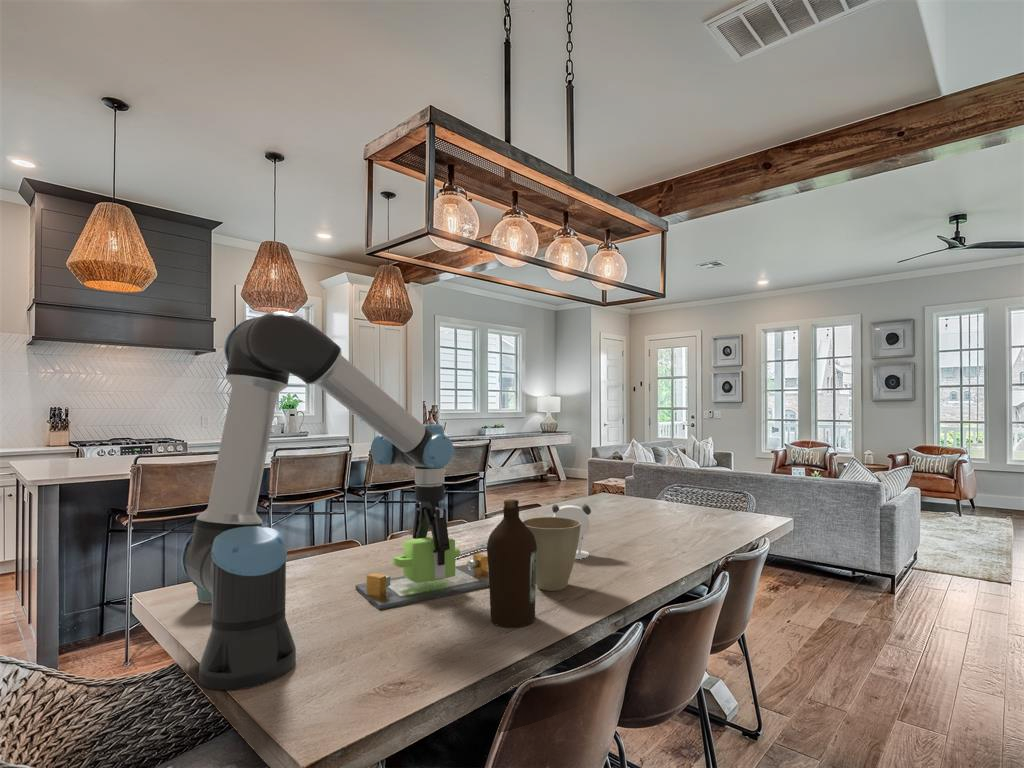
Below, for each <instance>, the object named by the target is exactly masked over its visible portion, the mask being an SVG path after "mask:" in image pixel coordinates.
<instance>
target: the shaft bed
mask: <svg viewBox="0 0 1024 768" xmlns="http://www.w3.org/2000/svg"><path fill="white" fill-rule="evenodd" d="M484 588H489V573H488V557H487V555H485V554H482V553H480V552H477V553H474V554H472V559H471V560H467V562H466V564H464V565H458V566H456V565H455V576H453V577H449V578H445V579H440V580H435V581H428V582H422V583H416V582H413V581H411V580H409V579H407V578H406V577H404V576H403V575H402V576H396V577H391V575H385V574H379V573H374V572H373V573H369V574H366V582H364V583H359V584H355V590H356V591H357V592H358V591H359V593H360V594H361V595H362V596H363V597H364V598H365V600H368V601H369V602H370V603H371V604H372V605H373V606H374V607H376V609H378V610H385V609H390V608H395V607H400V606H405V605H409V604H414V603H419V602H423V601H428V600H433V599H434V600H435V599H437V598H441V597H442V598H443V597H447V596H453V595H457V594H461V593H466V592H470V591H471V592H472V591H476V590H480V589H484Z"/></svg>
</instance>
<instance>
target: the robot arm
mask: <svg viewBox="0 0 1024 768" xmlns="http://www.w3.org/2000/svg"><path fill="white" fill-rule="evenodd" d="M225 338H226V339H225V341H224V348H223V351H224V357H225V359H226V362H227V366H226V373H225V376H224V377H225V379H226V380H227V382H228V383H229V385H230V387H231V390H230V395H229V399H228V403H227V404H228V405H227V408H226V409H227V410H226V416H225V420H224V424H223V429H222V435H221V440H220V445H219V450H218V453H217V454H218V455H217V460H216V465H215V470H214V474H213V480H212V485H211V490H210V494H209V498H208V499H209V500H208V503H207V504H208V505H207V508H206V509H205V510H204V511H202V512H201V513H200V514H197V516H196V518H195V519H196V520H195V525H194V527H193V532H192V534H191V535H190V536H189V537H188V538H187V539H186V541H185V542H184V545H183V548H182V550H181V555H180V562H181V567H182V570H183V572H184V574H185V576H186V577H187V579H188V580H189V581H190V582H191V583H192V584H193V585H194V586H197V587H199V588H201V589H204V590H205V591H207V592H208V593H210V594H211V595H212V603H211V627H210V628H211V630H210V634H209V636H208V639H207V643H206V645H205V648H204V650H203V654H202V656H201V659H200V663H199V665H198V666H199V667H198V681H199V684H200V685H202V686H203V687H205V688H208V689H212V690H217V691H218V690H219V691H233V690H234V691H235V690H241V689H248V688H252V687H257V686H260V685H264V684H265V683H270V682H272V681H275V680H277V679H279V678H280V677H282V676H284V675H285V674H287V673H288V672H289V671H290V670H292V669H293V667H294V666H295V665H296V661H297V656H296V655H297V654H296V653H297V652H296V651H297V650H296V644H295V642H294V638H293V636H292V634H291V630H290V626H289V624H288V622H287V619H286V583H287V579H286V578H287V557H288V555H287V554H288V550H287V546H286V539H285V536H284V534H283V533H281V532H280V531H279V530H277V529H275V528H271V527H268V526H267V527H262V526H263V520H262V518H261V517H260V516H259V514H258V513H257V507H258V501H259V496H260V491H261V485H262V480H263V475H264V470H265V463H266V460H267V459H266V458H267V454H268V448H269V443H270V438H271V437H270V436H271V431H272V427H273V422H274V415H275V411H276V407H277V406H276V405H277V400H278V394H280V392H283V391H284V390H285V389H286V388H288V385H289V384H288V383H289V379H290V375H293V376H295V377H297V378H298V379H300V380H301V381H303V383H305V384H306V385H308V386H309V385H317V387H319V388H320V389H321V390H322V391H324V392H325V393H326V394H328V395H329V396H330V397H332V398H333V399H334V400H336V401H337V402H338V403H339V404H340V405H342V406H343V407H345V408H346V409H347V410H348V411H349V412H351V413H352V414H353V415H355V416H356V417H357V418H358V419H360V420H361V421H362V422H364V423H365V424H366V425H368V426H369V427H371V429H373V430H374V431H375V432H377V433H378V434H377V435H375V437H374V438H373V440H372V441H371V445H370V455H371V458H372V460H373V461H374V463H375V464H377V465H378V466H388V467H390V466H395V465H396V466H397V465H398V466H399V465H400V466H408V467H409V466H410V467H414V484H416V486H415V487H414V493H415V494H414V498H415V499H414V500H415V501H417V502H416V503H414V507H415V508H414V509H415V511H414V521H413V528H412V529H413V530H412V539H419V538H427V537H428V536H427V535H428V532H429V529H430V532H431V537H433V541H434V546H435V549H434V550H433V553H434V579H439V578H444V577H445V551H446V550H449V549H450V545H449V538H450V537H449V532H448V531H449V530H448V523H447V509H446V508H441V506H440V502H441V501H443V500H445V498H446V495H445V493H446V490H445V489H446V486H445V485H444V483H445V475H446V473H447V472H446V470H445V467H446V466H448V465H449V464H450V462H451V461H452V459H453V457H454V451H455V449H454V448H455V447H454V443H453V441H452V440H451V439H450V437H448V436H447V435H445V429H444V426H443V425H442V424H440V423H439V424H435V423H434V424H433V423H431V424H429V423H428V424H424V423H422V422H420V421H419V420H418V419H417V418H415V417H414V415H412V414H411V413H410V412H409V411H408V410H407V409H405V408H404V407H403V406H402V405H400V404H399V403H398V402H397V401H396V400H395V399H394V398H393V397H391V396H390V395H389V394H387V392H385V391H384V390H383V389H382V388H380V386H379V385H377V384H376V383H375V382H374V381H372V380H371V379H370V378H369V377H368V376H366V374H364V373H363V372H362V371H361V370H359V369H358V368H357V367H356V366H355V365H353V364H352V363H351V362H350V361H349V360H348V359H346V357H344V356H343V355H342V348H341V347H340V345H338V344H337V343H336V342H335V341H333V340H332V339H331V338H330V337H329V336H328V335H326V334H325V333H324V332H323V331H322V330H320V329H319V328H317V326H315V325H314V324H312V323H310V322H309V321H308V320H306V319H305V318H303V317H301V316H299V315H297V314H295V313H291V312H287V311H271V312H268V313H265V314H263V315H261V316H258V317H252V318H248V319H246V320H243V321H242V322H240V323H239V324H237V325H236V326H235V327H234V328H232V329H231V330H230V332H229V333H228V335H227V337H225ZM197 587H196V588H197Z"/></svg>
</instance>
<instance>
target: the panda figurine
mask: <svg viewBox="0 0 1024 768" xmlns="http://www.w3.org/2000/svg"><path fill="white" fill-rule="evenodd" d="M551 508H552V509H551V510H552V513H553V516H552V517H560V518H569V519H574V520H577V521H579V522H580V523H581V527H580V534H579V541H578V547H577V552H576V556H575V559H580V560H583V559H582V558H585V559H587V558H589V557H590V553H589V552H588V551H585V550H583V549H582V542H583V540H584V536H586V534H587V533H588V531H589V530H590V527H591V522H590V519H589V516H588V515H591V513H592V509H591V508H590V506H589V505H588V504H583V505H582V506H581V507H580V506H577V505H571V504H569V505H562V506H559V505H558V504H553V505H552V507H551ZM588 556H589V557H588ZM586 557H587V558H586Z"/></svg>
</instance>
